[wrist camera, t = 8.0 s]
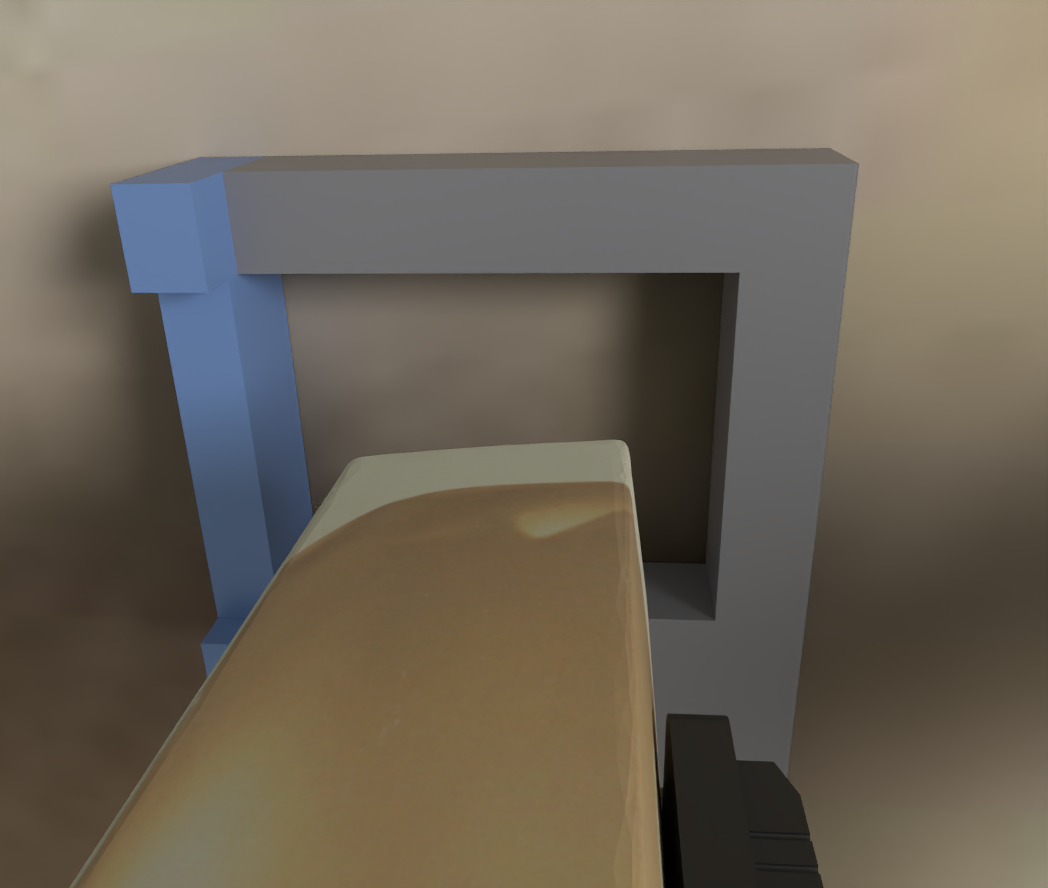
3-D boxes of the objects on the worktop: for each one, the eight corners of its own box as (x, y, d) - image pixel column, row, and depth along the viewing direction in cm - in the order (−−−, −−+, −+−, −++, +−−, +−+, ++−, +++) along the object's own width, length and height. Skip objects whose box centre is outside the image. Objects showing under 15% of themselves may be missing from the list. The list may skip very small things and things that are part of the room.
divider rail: (830, 148, 19) (880, 174, 16) (743, 977, 29) (762, 1111, 26) (199, 157, 20) (110, 184, 17) (324, 950, 30) (285, 1074, 27)
